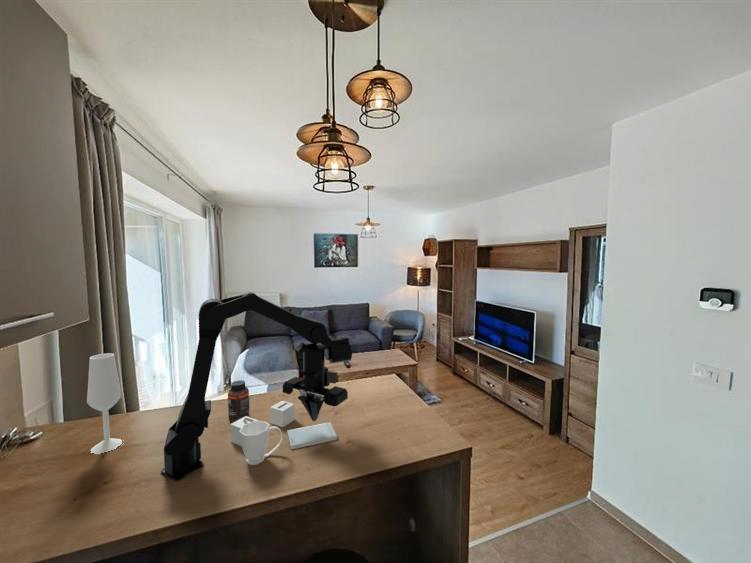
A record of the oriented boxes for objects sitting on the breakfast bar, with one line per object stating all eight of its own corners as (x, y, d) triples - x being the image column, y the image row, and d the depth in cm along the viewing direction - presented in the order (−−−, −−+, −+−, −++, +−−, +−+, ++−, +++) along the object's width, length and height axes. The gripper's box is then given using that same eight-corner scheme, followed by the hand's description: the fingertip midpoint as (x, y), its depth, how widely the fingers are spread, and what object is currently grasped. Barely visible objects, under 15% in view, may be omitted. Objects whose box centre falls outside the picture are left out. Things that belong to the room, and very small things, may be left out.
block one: (282, 427, 91) (282, 410, 91) (270, 423, 94) (270, 406, 93) (294, 419, 96) (294, 403, 95) (282, 416, 98) (282, 400, 98)
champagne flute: (83, 451, 80) (77, 358, 78) (112, 436, 86) (107, 351, 84) (101, 456, 78) (95, 361, 76) (130, 441, 84) (125, 353, 82)
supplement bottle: (253, 414, 99) (252, 379, 98) (243, 424, 93) (242, 386, 92) (235, 413, 100) (234, 378, 99) (224, 422, 94) (223, 386, 93)
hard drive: (290, 445, 81) (337, 435, 85) (286, 429, 88) (330, 420, 93) (290, 452, 81) (337, 441, 85) (286, 435, 88) (330, 426, 93)
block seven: (243, 447, 82) (243, 428, 81) (230, 442, 84) (230, 423, 84) (259, 437, 86) (258, 419, 86) (246, 433, 88) (245, 415, 88)
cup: (238, 455, 78) (238, 424, 78) (280, 444, 83) (279, 415, 82) (241, 472, 72) (240, 438, 71) (285, 459, 77) (285, 427, 76)
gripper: (358, 362, 89) (358, 415, 90) (306, 353, 98) (307, 401, 99) (335, 375, 79) (335, 434, 80) (280, 363, 88) (281, 417, 89)
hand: (314, 420), depth 87 cm, fingers closed
